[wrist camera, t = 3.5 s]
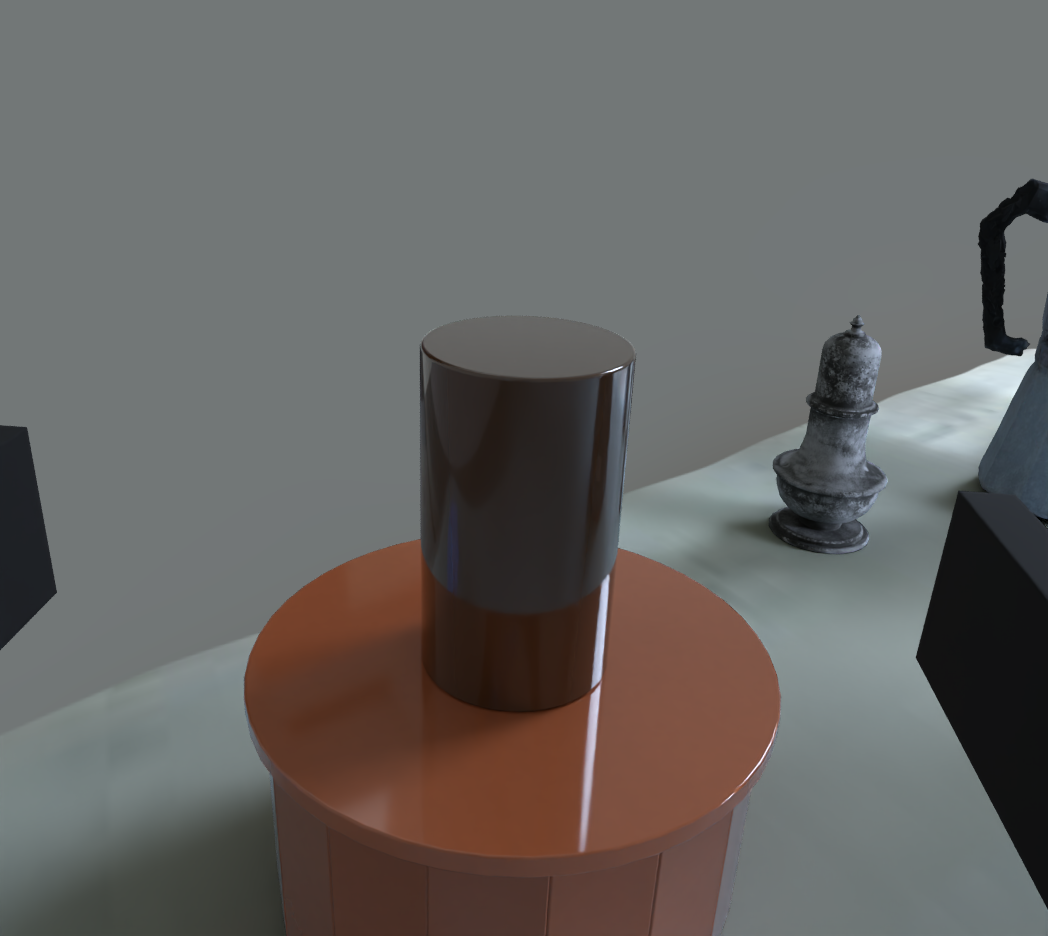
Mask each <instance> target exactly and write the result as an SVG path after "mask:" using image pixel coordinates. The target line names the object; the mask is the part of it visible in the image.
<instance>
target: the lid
mask: <svg viewBox="0 0 1048 936" xmlns="http://www.w3.org/2000/svg"><path fill="white" fill-rule="evenodd" d="M635 360H636V353H635V349H634V347H633V345H632V344H631V343H630V342H629V341H628V340H626V339H625V338H623V337H622V336H620V335H618V334H616V333H614V332H611V331H609V330H606V329H603V328H600V327H597V326H593V325H590V324H586V323H581V322H576V321H571V320H564V319H558V318H549V317H536V316H493V317H481V318H473V319H466V320H462V321H457V322H453V323H449V324H446V325H443V326H440V327H437V328H435V329H434V330H431V331H430V332H428V333H427V334H426V335H425V336H424V337H423V339H422V341H421V344H420V476H421V477H420V480H421V481H420V484H421V485H420V495H421V496H420V498H421V500H420V502H421V504H420V506H421V507H420V508H421V539H418V540H414V541H410V542H406V543H401V544H396V545H393V546H390V547H387V548H383V549H380V550H377V551H373V552H371V553H368V554H366V555H363V556H360V557H358V558H355V559H353V560H350V561H348V562H346V563H344V564H342V565H340V566H338V567H336V568H334V569H332V570H330V571H328V572H326V573H324V574H323V575H321V576H319V577H318V578H316V579H315V580H313V581H311V582H310V583H308V584H307V585H305V586H304V587H303V588H301V589H300V590H299V591H298V592H296V593H295V594H294V595H293V596H292V597H290V598H289V599H288V600H287V601H286V602H285V603H284V604H283V605H282V606H281V607H280V608H279V609H278V610H277V611H276V612H275V613H274V614H273V615H272V616H271V618H270V619H269V621H268V622H267V624H266V625H265V626H264V628H263V629H262V631H261V632H260V634H259V635H258V637H257V640H256V642H255V644H254V646H253V648H252V651H251V653H250V655H249V658H248V663H247V667H246V672H245V676H244V705H245V715H246V719H247V724H248V728H249V733H250V737H251V740H252V742H253V744H254V746H255V748H256V751H257V753H258V755H259V757H260V759H261V761H262V763H263V764H264V766H265V767H266V768H267V770H268V771H269V773H270V774H271V775H272V777H273V778H274V780H275V781H276V782H277V784H278V785H279V786H280V787H281V788H282V789H283V790H284V791H285V792H286V793H287V794H288V795H289V796H290V797H291V798H292V799H293V800H294V801H295V802H296V803H297V804H298V805H299V806H300V807H301V808H303V809H304V810H305V811H307V812H308V813H310V814H311V815H312V816H314V817H315V818H317V819H318V820H319V821H321V822H322V823H324V824H325V825H326V826H328V827H329V828H331V829H333V830H335V831H337V832H339V833H340V834H342V835H344V836H346V837H348V838H350V839H352V840H354V841H356V842H358V843H359V844H361V845H363V846H366V847H369V848H371V849H374V850H377V851H379V852H382V853H385V854H387V855H390V856H393V857H395V858H398V859H400V860H404V861H408V862H412V863H416V864H420V865H424V866H428V867H432V868H436V869H440V870H445V871H452V872H459V873H466V874H473V875H480V876H490V877H520V878H536V877H550V876H564V875H576V874H582V873H587V872H593V871H598V870H604V869H609V868H615V867H619V866H622V865H625V864H629V863H632V862H635V861H638V860H642V859H645V858H648V857H652V856H655V855H657V854H660V853H662V852H664V851H666V850H668V849H671V848H673V847H675V846H677V845H679V844H682V843H684V842H686V841H688V840H690V839H692V838H693V837H695V836H697V835H698V834H700V833H701V832H703V831H705V830H706V829H708V828H709V827H711V826H712V825H714V824H716V823H717V822H719V821H720V820H721V819H722V818H723V817H724V816H726V815H727V814H728V813H729V812H730V811H731V810H732V809H733V808H735V807H736V806H737V805H738V804H739V803H740V802H741V801H742V800H743V799H744V798H745V797H746V795H747V794H748V793H749V792H750V790H751V789H752V788H753V787H754V785H755V784H756V783H757V781H758V780H759V779H760V777H761V775H762V773H763V771H764V769H765V768H766V766H767V764H768V762H769V760H770V758H771V756H772V752H773V748H774V744H775V741H776V737H777V733H778V728H779V723H780V710H781V694H780V689H779V683H778V678H777V674H776V671H775V669H774V666H773V664H772V661H771V658H770V656H769V654H768V652H767V650H766V649H765V647H764V645H763V644H762V642H761V640H760V639H759V637H758V636H757V634H756V633H755V632H754V631H753V629H752V628H751V627H750V626H749V625H748V623H747V622H746V621H745V620H744V619H743V617H741V616H740V615H739V614H738V613H737V612H736V611H735V610H734V609H733V608H732V607H731V606H730V605H728V604H727V603H726V602H725V601H724V600H723V599H721V598H720V597H718V596H717V595H716V594H714V593H713V592H712V591H710V590H709V589H708V588H706V587H705V586H703V585H701V584H700V583H698V582H696V581H695V580H693V579H691V578H689V577H688V576H686V575H684V574H682V573H680V572H678V571H676V570H674V569H672V568H670V567H668V566H666V565H664V564H662V563H659V562H657V561H654V560H652V559H649V558H646V557H644V556H641V555H639V554H636V553H633V552H629V551H626V550H623V549H620V548H618V542H619V531H620V520H621V510H622V499H623V487H624V477H625V466H626V456H627V446H628V445H627V444H628V435H629V424H630V413H631V403H632V392H633V382H634V371H635Z"/></svg>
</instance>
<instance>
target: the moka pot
mask: <svg viewBox="0 0 1048 936" xmlns="http://www.w3.org/2000/svg"><path fill="white" fill-rule="evenodd" d="M1023 214H1028V215H1030V216H1032V217H1034V218H1036V219H1039V220H1040V221H1042V222H1046V223H1048V183H1044V182H1041V181H1038V180H1035V179H1030V180H1029V181H1028V182H1027V183H1026V184H1025V185H1024V186H1022V187H1020V188H1018V189H1017V190H1016V192H1015V194H1014V195H1013V197H1012V198H1011V199H1010V198H1007V199H1005V200H1004V201H1002V202H1001V203H1000V205H999V207H998V208H996V209H995V210H994V211H993V212H991V213H990V214H989V215H988V216H987V217H985V218H984V219H983V220H982V221H981V223H980V232H979V236H978V237H979V243H978V245H979V247H980V248H981V272H980V273H981V276H982V282H983V285H982V303H983V307H984V309H983V319H982V320H983V325H984V326H983V330H984V335H985V337H984V340H985V348H988V349H990V350H992V351H998V352H1001V353H1004V354H1008V355H1016V356H1022V354H1023V350H1025V349H1027V347H1028V346H1029V345H1030V344H1029V343H1028V342H1027V340H1025V339H1023V338H1012V337H1009V336H1007V335H1006V332H1005V326H1004V318H1003V309H1002V307H1001V306H1002V305H1003V294H1004V291H1005V289H1004V287H1005V285H1004V283H1005V279H1004V274H1005V264H1004V261H1005V259H1004V257H1006V253H1005V248H1006V241H1005V236H1004V230H1005V229H1006V227H1007V226H1008V225H1010V224H1011V223H1012V221H1013V220H1014V219H1015V218H1016V217H1018V216H1021V215H1023ZM978 476H979V481H980V483H981V487H982V488H983V489H984V490H986V491H987V492H988V493H998V494H1013V495H1016V496H1017V497H1018V498H1019V499H1020V500H1021V501H1022V502H1023V503H1024V504H1025V505H1026V507H1027V508H1028V509H1029V510H1030V511H1031V512H1032V513H1033V514H1034V515H1036V516H1038V517H1041V518H1044V519H1048V294H1047V299H1046V304H1045V310H1044V314H1043V331H1042V335H1041V337H1040V339H1039V343H1038V346H1037V349H1036V353H1035V362H1034V363H1033V364H1032V365H1031V366H1030V368H1029V369H1028V371H1027V372H1026V374H1025V376H1024V378H1023V380H1022V382H1021V384H1020V386H1019V388H1018V390H1017V391H1016V393H1015V395H1014V397H1013V399H1012V401H1011V403H1010V405H1009V407H1008V409H1007V411H1006V413H1005V415H1004V417H1003V419H1002V422H1001V424H1000V426H999V428H998V430H997V432H996V434H995V436H994V437H993V439H992V441H991V443H990V445H989V447H988V449H987V451H986V453H985V454H984V456H983V458H982V460H981V463H980V465H979V472H978Z"/></svg>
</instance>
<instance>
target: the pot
mask: <svg viewBox="0 0 1048 936" xmlns="http://www.w3.org/2000/svg"><path fill="white" fill-rule="evenodd" d="M269 775H270V787H271V798H272V810H273V821H274V832H275V844H276V855H277V867H278V876H279V884H280V892H281V900H282V909H283V919H284V924H285V932H286V936H721V933H722V930H723V927H724V924H725V922H726V919H727V916H728V913H729V910H730V905H731V899H732V894H733V888H734V883H735V877H736V871H737V866H738V860H739V855H740V849H741V844H742V838H743V833H744V827H745V822H746V816H747V811H748V805H749V799H750V794H751V790H750V792H749V793H748V794H747V795H746V797H745V798H744V799H743V800H742V801H741V802H740V803H739V804H738V805H737V806H736V807H735V808H733V809H732V810H731V811H730V812H729V813H728V814H727V815H726V816H724V817H723V818H722V819H721V820H720V821H719V822H717V823H716V824H714V825H712V826H711V827H709V828H708V829H706V830H705V831H703V832H701V833H700V834H698V835H697V836H695V837H693V838H692V839H690V840H688V841H686V842H684V843H682V844H679V845H677V846H675V847H673V848H671V849H668V850H666V851H664V852H662V853H660V854H657V855H655V856H652V857H648V858H645V859H642V860H638V861H635V862H632V863H629V864H625V865H622V866H619V867H615V868H609V869H604V870H598V871H593V872H587V873H582V874H576V875H564V876H550V877H536V878H520V877H490V876H480V875H473V874H466V873H459V872H452V871H445V870H440V869H436V868H432V867H428V866H424V865H420V864H416V863H412V862H408V861H404V860H400V859H398V858H395V857H393V856H390V855H387V854H385V853H382V852H379V851H377V850H374V849H371V848H369V847H366V846H363V845H361V844H359V843H358V842H356V841H354V840H352V839H350V838H348V837H346V836H344V835H342V834H340V833H339V832H337V831H335V830H333V829H331V828H329V827H328V826H326V825H325V824H324V823H322V822H321V821H319V820H318V819H317V818H315V817H314V816H312V815H311V814H310V813H308V812H307V811H305V810H304V809H303V808H301V807H300V806H299V805H298V804H297V803H296V802H295V801H294V800H293V799H292V798H291V797H290V796H289V795H288V794H287V793H286V792H285V791H284V790H283V789H282V788H281V787H280V786H279V785H278V784H277V782H276V781H275V780H274V778H273V777H272V775H271V774H270V773H269Z"/></svg>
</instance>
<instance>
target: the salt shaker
mask: <svg viewBox="0 0 1048 936" xmlns="http://www.w3.org/2000/svg"><path fill="white" fill-rule="evenodd" d="M850 324H851V325H852V328H851V330H846V331H845V332H843V333H838V334H836V335H834V336H832V337H830V338H829V339H828V340H827V341H826V342H825V344H824V346H823V349H822V355H821V361H820V366H819V372H818V378H817V383H816V390H815V392H813V393H811V394H809V395H808V396H807V397H806V402H807V403H808V405H809V406H810V407H811V409H810V415H809V420H808V426H807V432H806V435H805V438H804V440H803V442H802V444H801V446H800V448H799V449H794V450H790V451H786V452H783V453H782V454H780V455H778V456H776V458H775V459H774V461H773V469H774V471H775V472H776V474H777V478H776V479H777V486H778V490H779V494H780V497H781V498H782V500H783V501H784V502H785V504H786V505H787V506H788V507H786V508H782V509H779V510H778V511H776V512H775V513H773V514H772V515H771V517H770V518H769V527H770V528H771V530H772V532H773V533H774V534H775V535H777V536H778V537H779V538H780V539H782V540H784V541H786V542H787V543H789V544H792V545H794V546H797V547H799V548H802V549H806V550H810V551H814V552H821V553H832V554H842V553H849V552H854V551H857V550H860V549H862V548H863V547H864V546H866V545H867V543H868V540H869V534H868V531H867V530H866V529H865V527H864V526H863V525H862V524H861V523H860V522H858V521H857V520H856V519H857V518H858V517H860V516H862V515H864V514H865V513H866V512H868V510H869V509H870V508H871V506H872V505H873V504H874V502H875V501H876V499H877V496H878V492H880V491H881V490H883V489H884V488H885V486H886V484H887V477H886V475H885V473H884V472H883V471H882V470H881V469H880V468H879V467H877V466H876V465H874V464H873V463H871V462H869V461H867V460H866V452H865V442H866V437H867V432H868V427H869V422H870V417H871V415H873V414H875V413H877V411H878V410H879V407H878V405H877V404H876V403H875V402H874V401H873V400H872V399H873V394H874V389H875V384H876V379H877V374H878V370H879V364H880V360H881V348H880V346H879V344H878V342H876V341H875V340H874V339H873V338H872V337H870V336H868V335H866V334H865V332H863V331H861V326H863V325H864V323H862V319H861V318H860V316H859V315H858V316H857V317H856V318H854V319H853V321H852V322H850Z"/></svg>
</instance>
